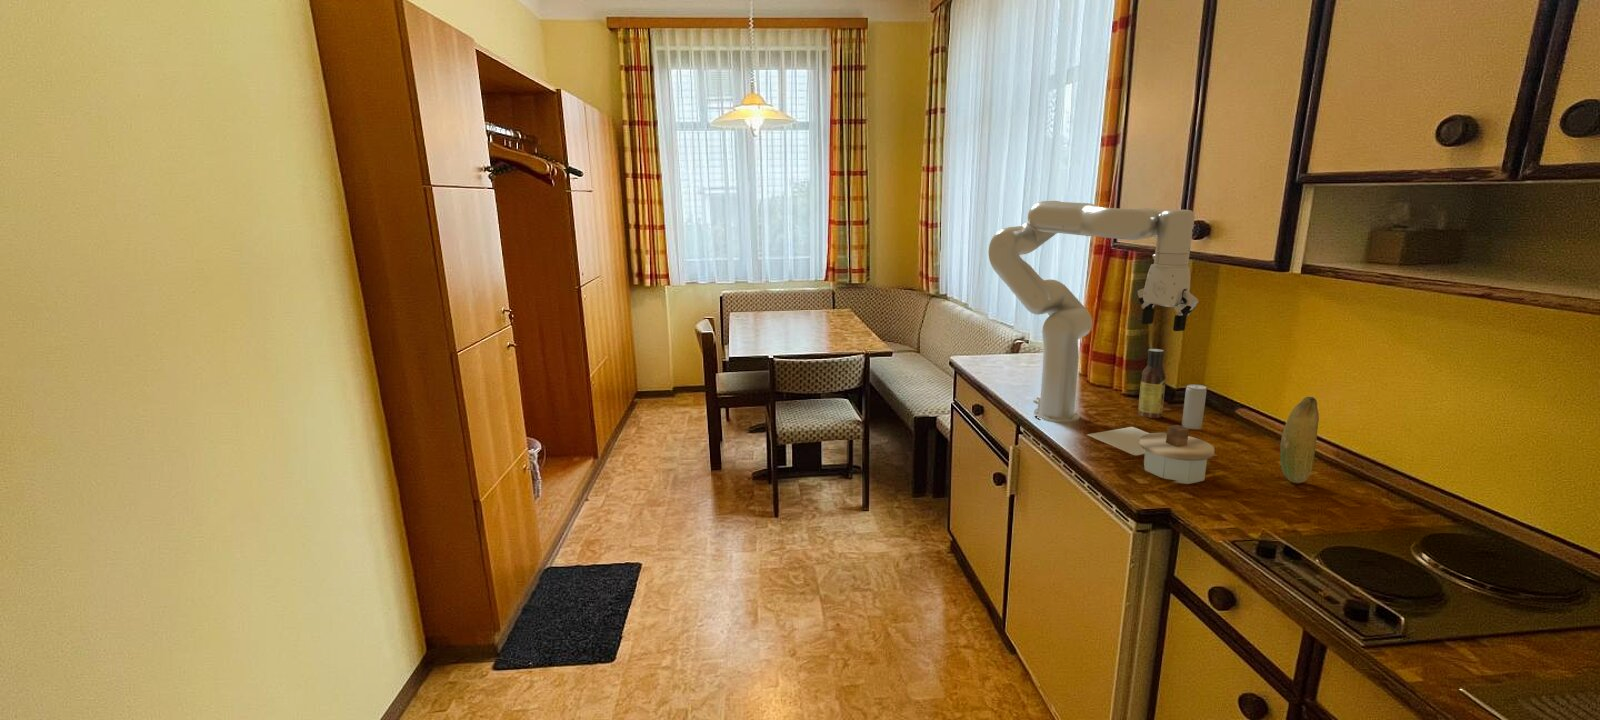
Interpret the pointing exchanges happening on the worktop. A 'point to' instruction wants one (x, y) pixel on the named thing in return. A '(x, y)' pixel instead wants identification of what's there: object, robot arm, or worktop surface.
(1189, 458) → the lid
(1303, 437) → the vegetable
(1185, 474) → the bowl
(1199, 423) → the beverage can
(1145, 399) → the sauce bottle
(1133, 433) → the mat
